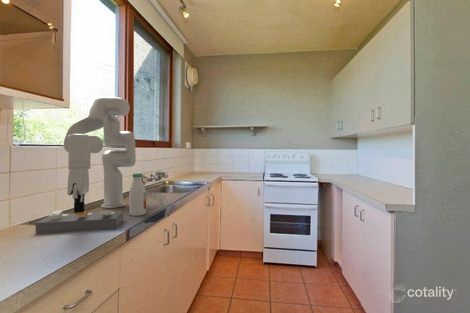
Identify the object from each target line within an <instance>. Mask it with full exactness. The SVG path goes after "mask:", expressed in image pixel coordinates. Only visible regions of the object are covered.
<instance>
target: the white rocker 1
mask: <svg viewBox="0 0 470 313" xmlns="http://www.w3.org/2000/svg"><path fill="white" fill-rule="evenodd" d="M62 214H64V210H62V209H59V210H57V209H56V210H53V211H52V212H51V213H50V214H49V215H48V216H49V219H59V218H60V217H61V215H62Z"/></svg>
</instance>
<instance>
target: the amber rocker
mask: <svg viewBox="0 0 470 313" xmlns="http://www.w3.org/2000/svg"><path fill="white" fill-rule="evenodd" d="M88 213H89V211H88V210H84V212H80V213H75V216H83V215H88Z"/></svg>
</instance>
